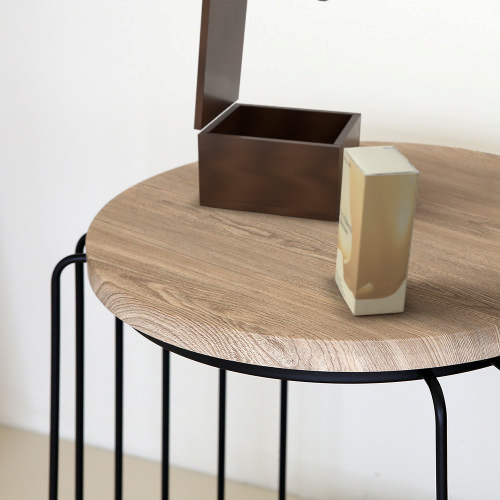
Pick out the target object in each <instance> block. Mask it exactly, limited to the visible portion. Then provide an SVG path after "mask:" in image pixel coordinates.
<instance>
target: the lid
mask: <svg viewBox="0 0 500 500" xmlns="http://www.w3.org/2000/svg"><path fill="white" fill-rule="evenodd" d="M247 10H248V0H201V10H200V11H201V13H200V28H199V44H198V57H197V58H198V59H197V70H196V71H197V73H196V86H195V87H196V89H195V102H194V103H195V104H194V119H193V130H197V131H202V130H203V129H205V128H206V127H207V126H208V125H209V124H211V123H212V122H213V121H214V120H215V119H217V118H218V117H219V116H220V115H221V114H223V113H224V112H225V111H226V110H228V109H229V108H230V107H231V106H232V105H234V104H235V103H237V101H238V100H239V97H240V87H241V76H242V66H243V65H242V64H243V56H244V55H243V53H244V43H245V31H246V20H247V12H248V11H247Z"/></svg>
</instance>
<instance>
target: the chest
mask: <svg viewBox="0 0 500 500" xmlns="http://www.w3.org/2000/svg"><path fill="white" fill-rule="evenodd" d="M361 125H362V113H361V112H353V111H352V112H351V111H340V110H339V111H337V110H326V109H315V108H303V107H301V108H300V107H289V106H278V105H265V104H255V103H253V104H252V103H241V102H235V103H233V104H232V105H231V106H230V107H229V108H227V109H226V110H225V111H224V112H223V113H221V114H220V115H219V116H218V117H216V118H215V119H214V120H213V121H212V122H210V123H209V124H208V125H207V126H206V127H204V128H203V129H202V130H200V132H198V133H197V163H198V167H197V168H198V197H199V199H198V200H199V206H202V207H210V208H220V209H228V210H236V211H242V212H243V211H245V212H252V213H253V212H254V213H262V214H270V215H276V216H277V215H278V216H287V217H295V218H303V219H312V220H319V221H328V222H336V221H337V219H338V218H339V217H340V203H341V188H342V174H343V158H344V148H352V147H360V145H361V144H360V143H361V142H360V141H361V128H362V127H361Z"/></svg>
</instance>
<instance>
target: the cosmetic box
mask: <svg viewBox="0 0 500 500" xmlns="http://www.w3.org/2000/svg"><path fill="white" fill-rule="evenodd" d="M419 180H420V171H419V170H418V169H417V168H416V167H415V166H414V165H413V164H412V162H410V160H409V159H408V158H407V157H406V156H405V155H404V154H403V153H402V152H401V151H400V150H399V149H398V148H397V147H396V146H395V145H392V144H390V145H389V144H388V145H375V146H374V145H372V146H371V145H370V146H359V147H352V148H344V158H343V174H342V188H341V203H340V214H339V216H338V218H339V220H338V233H337V234H338V235H337V249H336V262H335V275H334V276H335V278H334V281H335V283H336V285H337V287H338V290H339V292H340V294H341V295H342V298H343V300H344V301H345V303H346V304H347V306H348V308H349V310H350V312H351V314H352V315H353V316H355V317H356V316H366V315H368V316H369V315H382V314H396V313H403V312H404V311H405V302H406V293H407V284H408V276H409V267H410V258H411V250H412V241H413V232H414V222H415V214H416V205H417V197H418V187H419Z"/></svg>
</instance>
